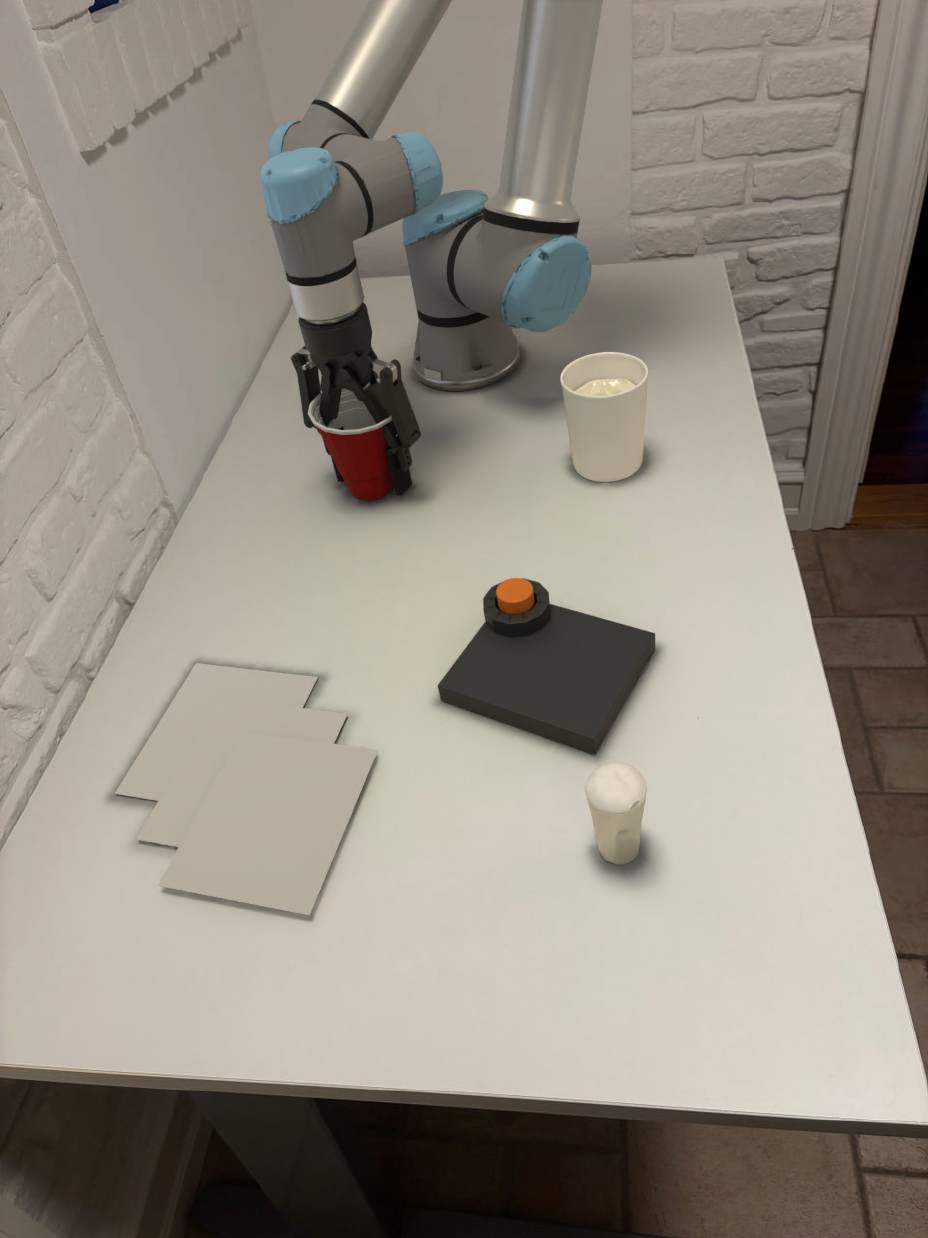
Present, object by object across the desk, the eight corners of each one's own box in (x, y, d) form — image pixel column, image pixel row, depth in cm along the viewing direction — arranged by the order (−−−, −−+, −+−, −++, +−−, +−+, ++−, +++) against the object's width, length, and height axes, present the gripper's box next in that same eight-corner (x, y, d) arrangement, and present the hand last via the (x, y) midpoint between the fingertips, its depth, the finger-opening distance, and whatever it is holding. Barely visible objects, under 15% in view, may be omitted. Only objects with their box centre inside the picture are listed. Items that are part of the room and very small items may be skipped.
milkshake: (613, 890, 74) (609, 815, 67) (580, 838, 78) (572, 762, 71) (664, 865, 75) (664, 789, 68) (628, 815, 79) (626, 738, 72)
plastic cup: (405, 514, 113) (385, 428, 105) (320, 513, 116) (294, 429, 108) (426, 461, 121) (409, 377, 113) (346, 461, 123) (324, 379, 115)
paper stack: (65, 872, 82) (62, 867, 82) (196, 663, 99) (194, 658, 99) (311, 919, 76) (309, 915, 75) (407, 687, 93) (405, 682, 92)
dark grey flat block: (506, 600, 100) (502, 572, 97) (658, 644, 92) (658, 614, 90) (434, 698, 91) (427, 670, 89) (594, 755, 84) (592, 725, 81)
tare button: (508, 587, 96) (507, 574, 95) (540, 596, 94) (539, 582, 93) (491, 610, 94) (489, 597, 93) (524, 619, 92) (522, 606, 91)
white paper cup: (610, 496, 110) (606, 406, 102) (550, 466, 116) (542, 379, 108) (666, 457, 114) (666, 367, 106) (605, 430, 120) (601, 343, 112)
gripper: (431, 303, 100) (462, 481, 115) (277, 283, 109) (325, 451, 125) (392, 337, 95) (430, 517, 111) (236, 314, 105) (290, 483, 120)
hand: (374, 482), depth 118 cm, fingers closed on plastic cup, 8 cm apart
